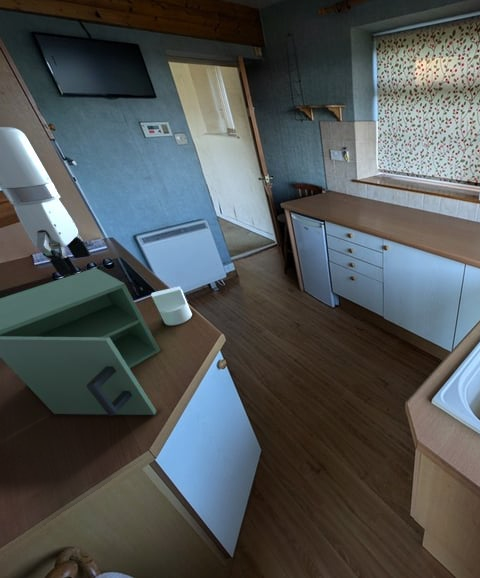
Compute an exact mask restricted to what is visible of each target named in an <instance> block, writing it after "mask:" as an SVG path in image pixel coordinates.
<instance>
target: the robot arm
mask: <svg viewBox="0 0 480 578" xmlns="http://www.w3.org/2000/svg"><path fill="white" fill-rule="evenodd" d="M0 190H1V191H2V193H3V194H4V196H5V197H6V199H7V200H8V202H9V203H10V204H11V205H13V209H14V211H15V213H16V215H17V219H18V220H19V221H20V224H21V225H22V227H23V229H24V231H25V232H26V234H27V236H28V238H29V239H30V240H31V242H32V244H33V246H34V247H35V248H36V249H37V250H38V251H40V253H42V255H43V256H44V257H46V259H47V260H48V261H49V262H50V263H51V264H52V266H53V267H54V269H55V270H56V272H57V273H58V275H60V276H66V275H73V274H78V273H79V272H78V271H79V269H78V268H77V267H76V265H75V263H74V262H73V260H72V258H71V257H70V256H69V255H68V256H67V253H66V248H65V247H67V248H68V249H69V251H70V253H71V255H72V256H73V258H74V259H80V258H81V259H82V258H87V257H90V256H92V253H91V252H90V251H89V248H88V246H87V244H86V243H85V241H84V240H83V236H81V235H80V231H79V229H78V227H77V225H76V223H75V221H74V220H73V218H72V217H71V215H70V213H69V212H68V211H67V209H66V207H65V206H64V205H63V203H62V201H61V200H60V199H61V194H60V193H59V191H58V190H57V188H56V186H55V184H54V182H53V181H52V178H51V177H50V176H49V174H48V172H47V170H46V168H45V167H44V165H43V163H42V162H41V160H40V158H39V156H38V155H37V153H36V152H35V150H34V148H33V146H32V144H31V143H30V140H29V139H28V137H27V135H26V134H25V133H24V132H23V131H21V130H20V129H18V128H15V127H11V126H10V127H9V126H0ZM57 250H58V251H57Z"/></svg>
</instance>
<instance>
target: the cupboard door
mask: <svg viewBox="0 0 480 578" xmlns="http://www.w3.org/2000/svg"><path fill="white" fill-rule="evenodd" d="M0 358H1V359H2V360H3V362H4V363H6V365H7V366H8V367H9V368H10V369H11V370H12V371H13V372H14V373H15V374H16V375H17V376H18V377H19V379H21V380H22V381H23V382H24V384H25V385H26V386H27V387H28V388H29V389H30V390H31V391H32V392H33V393H34V394H35V396H36V397H38V398H39V399H40V401H41V402H42V403H43V404H44V405H45V406H46V407H47V408H48V409H49V410H50V411H51V413H53V414H54V415H108V416H109V417H114V416H116V415H124V416H125V415H126V416H127V415H131V416H132V415H133V416H134V415H135V416H136V415H137V416H140V415H143V416H155V415H156V414H157V409H156V408H155V407H154V405H153V403H152V402H151V399H150V398H149V397H148V395H147V394H146V393H145V391H144V389H143V387H142V386H141V385H140V383H139V382H138V380H137V378H136V377H135V375H134V374H133V372H132V371H131V368H130V369H129V367H128V366H127V364H126V363H125V361H124V359H123V358H122V356H121V355H120V353H119V352H118V350H117V348H116V347H115V345H114V344H113V342H112V341H111V339H110V338H97V337H4V336H0Z"/></svg>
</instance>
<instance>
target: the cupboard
mask: <svg viewBox="0 0 480 578" xmlns="http://www.w3.org/2000/svg"><path fill="white" fill-rule="evenodd" d="M146 323H147V322H146V321H145V319H144V317H143V315H142V314H141V311H140V310H139V308H138V307H137V305H136V303H135V301H134V299H133V297H132V295H131V293H130V291H129V289H128V288H127V285H126V284H125V282H123V281H120V280H119V279H117V278H115V277H113V276H112V275H110V274H109V273H106V272H104V271H103V270H100V269H98V267H94V268H89V269H87V270H84V271H80V272H77V273H74V274H71V275H69V276H66V277H63V278H59V279H57V280H53V281H50V282H48V283H44V284H41V285H38V286H34V287H32V288H28V289H26V290H25V289H24V290H22V291H19V292H16V293H13V294H10V295H6V296H4V297H0V336H4V337H97V338H110V339H111V341H112V342H113V344H114V345H115V347H116V348H117V350H118V352H119V353H120V355H121V356H122V358H123V359H124V361H125V363H126V364H127V366H128V367H129V369H130V370H131V369H132V368H134V367H136V366H138V365H139V364H141V363H142V362H144V361H146V360H147V359H149V358H151V357H153V356H155V355H157V354H158V353H160V352H161V349H160V348H159V345H158V344H157V342H156V340H155V338H154V336H153V335H152V332H151V330H150V329H149V327H148V325H147V324H146Z"/></svg>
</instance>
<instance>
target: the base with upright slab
mask: <svg viewBox="0 0 480 578" xmlns="http://www.w3.org/2000/svg"><path fill="white" fill-rule="evenodd" d="M150 296H151V298H152V301H153V303H154V304H155V306H156V308H157V311H158V312H159V314H160V317H161V319H162V321H163V323H164V324H165V325H166V326H177V325H180V324H184V323H185V322H186V323H187V321H189V320H190V319H191V318H192V316H193V313H192V310H191V309H190V306H189V303H188V301H187V298H186V296H185V294H184V292H183V289H182V286H180V285H179V286H174V287H171V288H166V289H162V290H158V291H154V292H151V294H150Z"/></svg>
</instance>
